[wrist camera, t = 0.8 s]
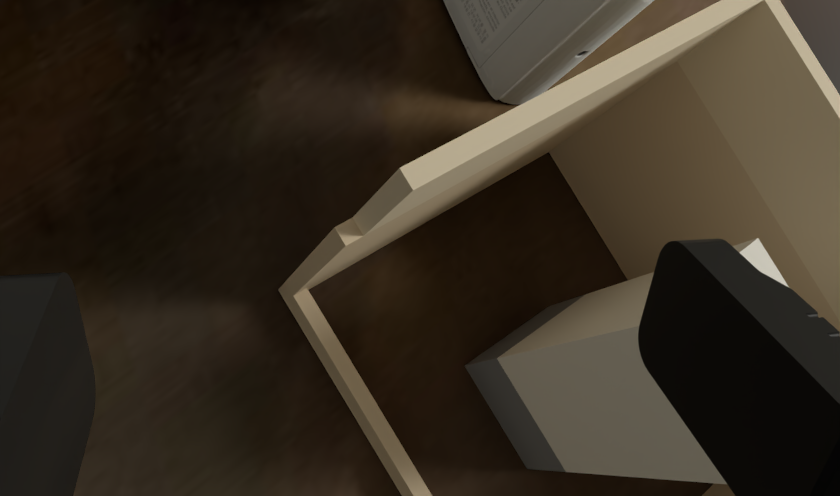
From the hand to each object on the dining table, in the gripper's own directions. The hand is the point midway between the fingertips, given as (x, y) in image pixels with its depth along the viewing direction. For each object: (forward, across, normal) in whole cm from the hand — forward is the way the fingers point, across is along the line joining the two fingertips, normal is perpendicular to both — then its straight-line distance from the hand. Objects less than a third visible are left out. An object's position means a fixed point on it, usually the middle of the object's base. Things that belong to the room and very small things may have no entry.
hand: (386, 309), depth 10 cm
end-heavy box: (+14, -9, +15) cm, 22 cm away
